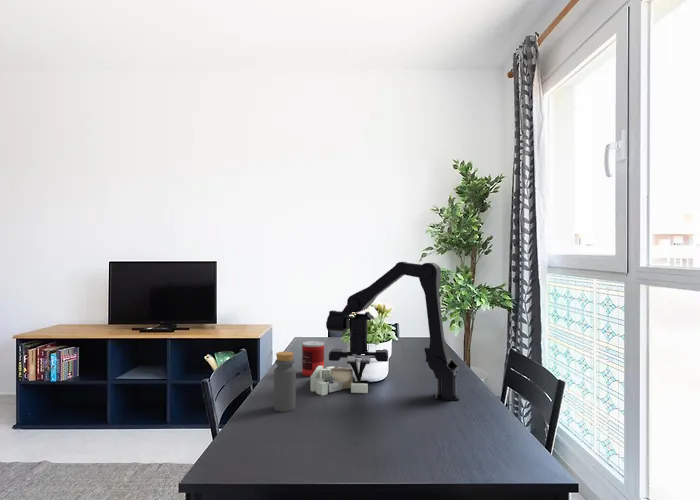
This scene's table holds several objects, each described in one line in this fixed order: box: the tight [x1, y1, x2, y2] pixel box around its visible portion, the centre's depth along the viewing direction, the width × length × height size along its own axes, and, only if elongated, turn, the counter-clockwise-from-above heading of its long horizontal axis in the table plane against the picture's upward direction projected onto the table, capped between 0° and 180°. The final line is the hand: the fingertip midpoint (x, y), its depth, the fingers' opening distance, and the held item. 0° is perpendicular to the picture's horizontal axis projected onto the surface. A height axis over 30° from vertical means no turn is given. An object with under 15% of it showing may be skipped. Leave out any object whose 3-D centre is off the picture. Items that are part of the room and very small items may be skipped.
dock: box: [309, 366, 369, 396], centre depth 143 cm, size 22×18×4 cm
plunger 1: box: [327, 376, 343, 393], centre depth 137 cm, size 5×2×4 cm, turn 129°
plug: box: [331, 366, 354, 390], centre depth 143 cm, size 7×7×5 cm
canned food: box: [301, 340, 325, 378], centre depth 157 cm, size 8×8×11 cm
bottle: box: [273, 351, 297, 413], centre depth 121 cm, size 6×6×15 cm
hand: (359, 382), depth 142 cm, fingers closed
